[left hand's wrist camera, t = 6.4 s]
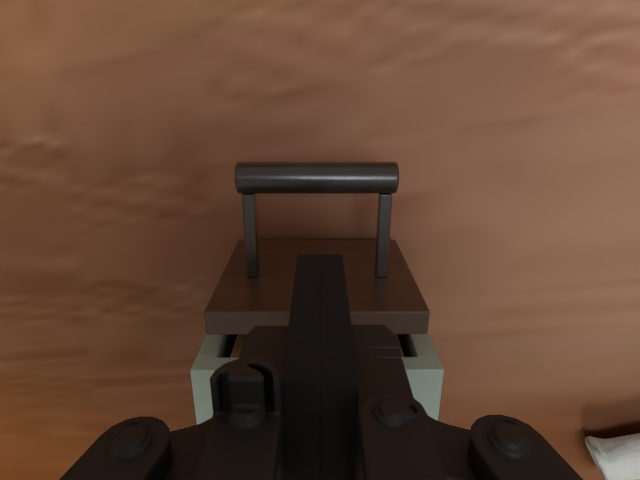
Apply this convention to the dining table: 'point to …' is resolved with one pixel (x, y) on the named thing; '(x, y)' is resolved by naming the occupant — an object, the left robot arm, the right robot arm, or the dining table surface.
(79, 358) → the dining table surface
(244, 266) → the drawer
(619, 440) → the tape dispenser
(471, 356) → the dining table surface
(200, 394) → the pale green box
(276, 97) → the dining table surface
